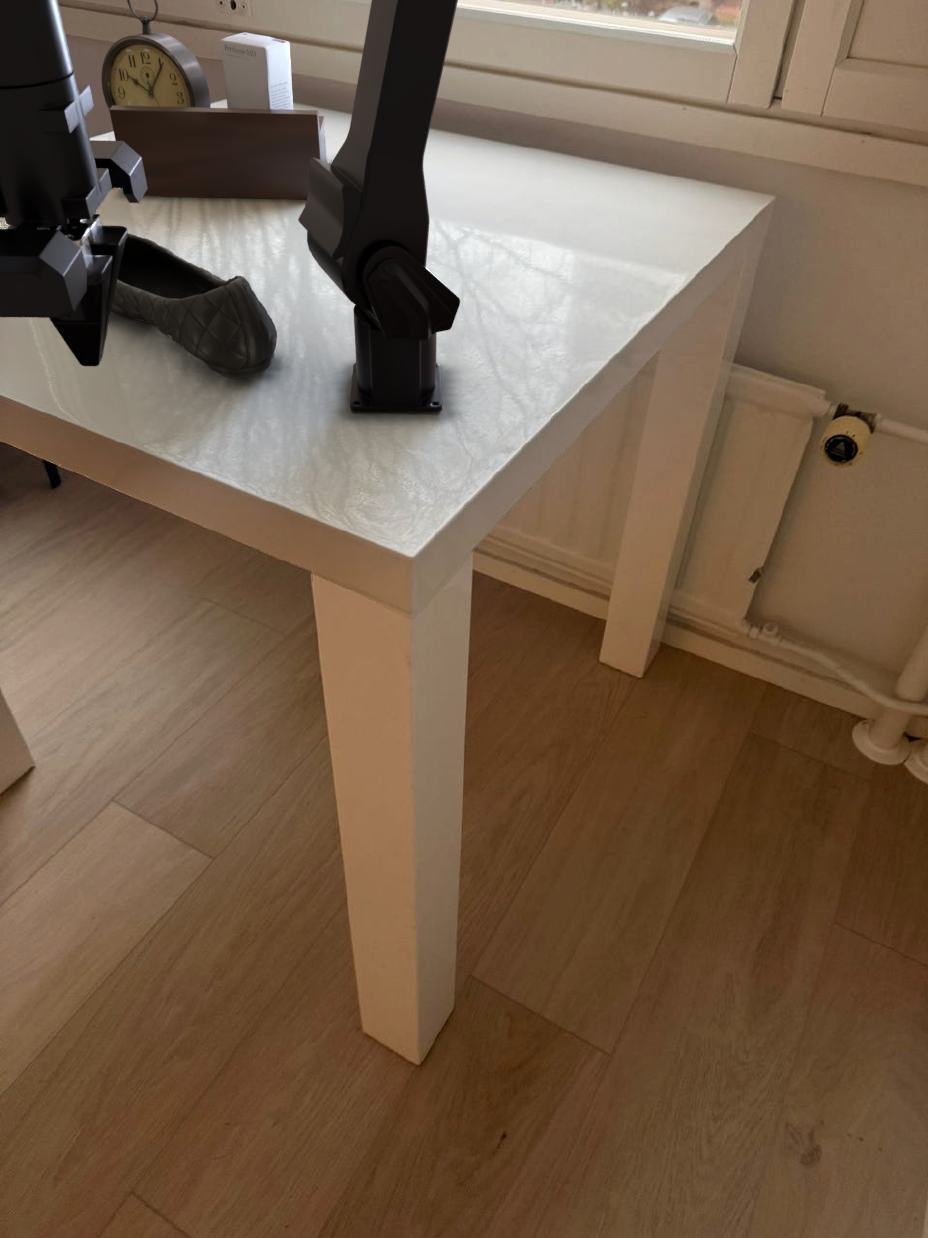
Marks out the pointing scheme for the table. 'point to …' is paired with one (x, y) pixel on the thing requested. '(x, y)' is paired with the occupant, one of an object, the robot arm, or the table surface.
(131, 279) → the ballet flat
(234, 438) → the table surface
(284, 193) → the brown wooden box
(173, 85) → the alarm clock
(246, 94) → the cosmetic box
